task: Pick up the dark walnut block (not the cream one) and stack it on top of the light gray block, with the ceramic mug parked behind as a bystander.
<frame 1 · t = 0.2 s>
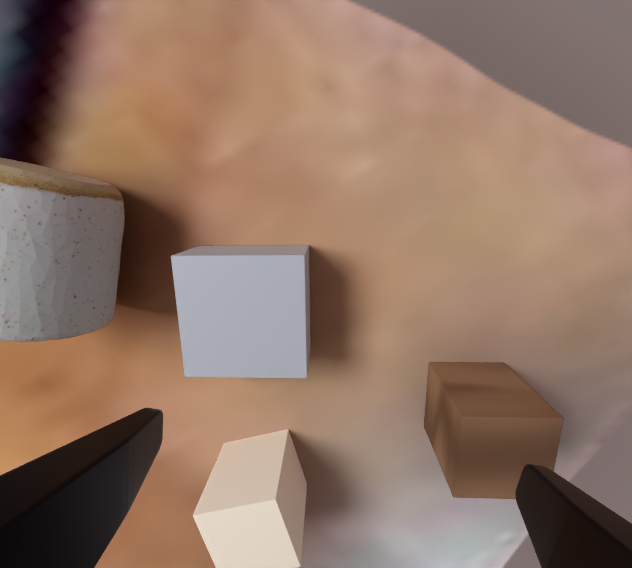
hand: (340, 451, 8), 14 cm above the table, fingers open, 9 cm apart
ceramic mug: (71, 237, 22), on the table
walnut block: (462, 394, 23), on the table
light gray block: (256, 298, 22), on the table
cream block: (266, 463, 25), on the table
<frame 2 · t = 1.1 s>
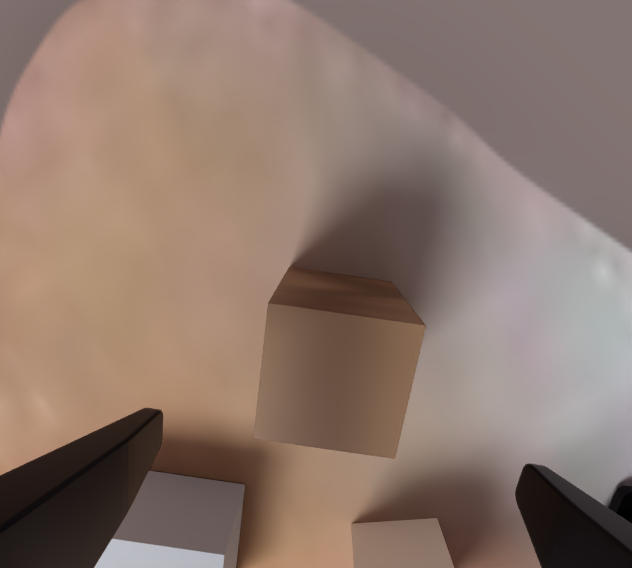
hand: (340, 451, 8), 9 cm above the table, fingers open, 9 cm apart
walnut block: (332, 322, 17), on the table
light gray block: (182, 523, 20), on the table
cream block: (396, 553, 20), on the table
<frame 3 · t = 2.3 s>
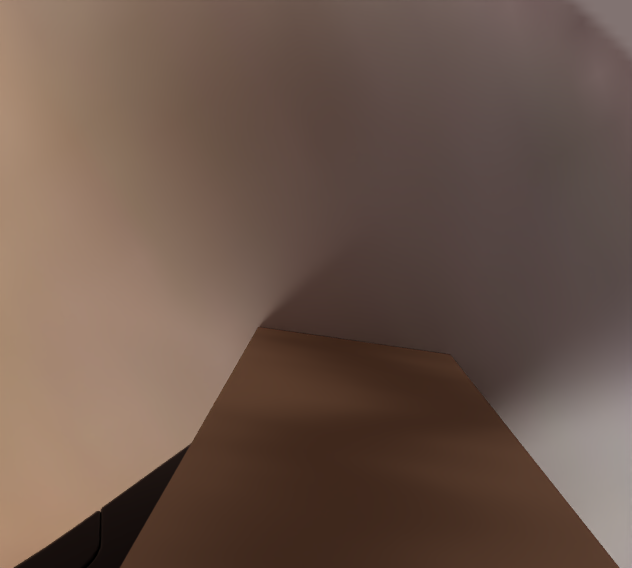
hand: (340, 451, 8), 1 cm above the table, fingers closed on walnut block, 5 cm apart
walnut block: (339, 424, 9), on the table, touching gripper
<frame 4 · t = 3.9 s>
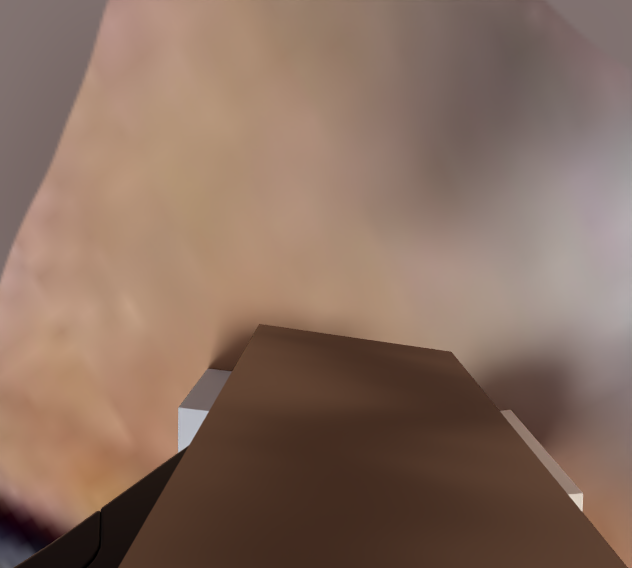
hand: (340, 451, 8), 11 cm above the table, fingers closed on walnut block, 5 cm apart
walnut block: (340, 421, 9), point 10 cm above the table, touching gripper
light gray block: (261, 425, 21), on the table
cream block: (469, 449, 21), on the table
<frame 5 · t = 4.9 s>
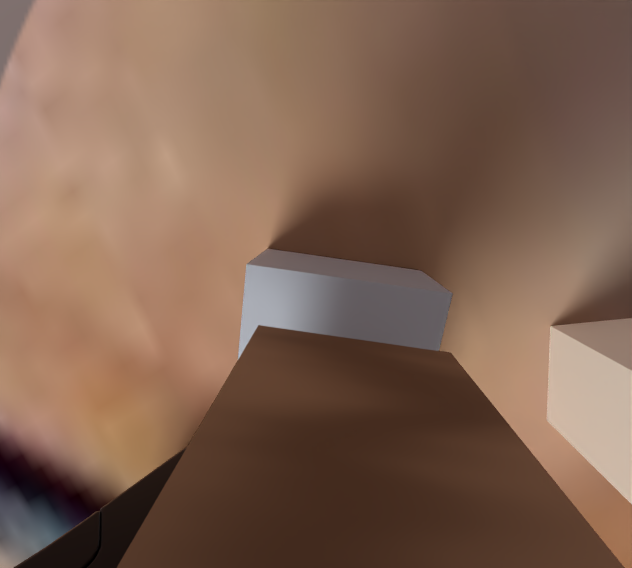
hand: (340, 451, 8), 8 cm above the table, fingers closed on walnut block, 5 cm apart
walnut block: (339, 422, 9), point 7 cm above the table, touching gripper
light gray block: (332, 331, 16), on the table
cream block: (602, 369, 16), on the table
when the fingers open (6 cm above the table, at t = 5.6 s): walnut block drops 1 cm, resting on light gray block.
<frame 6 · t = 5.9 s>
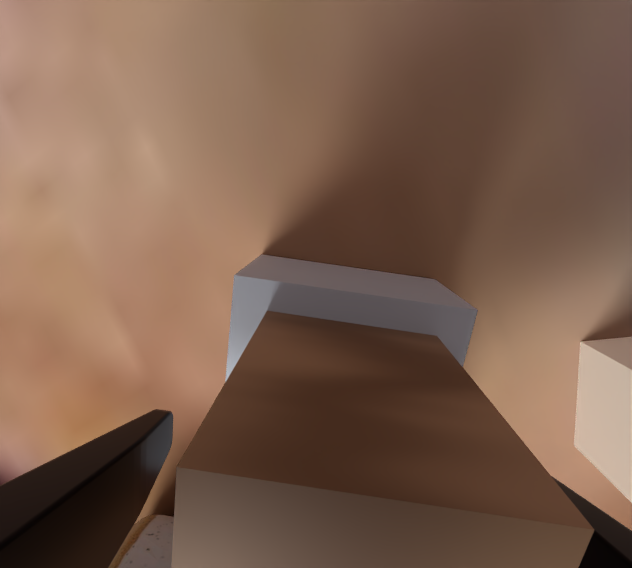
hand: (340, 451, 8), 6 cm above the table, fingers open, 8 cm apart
ceramic mug: (213, 567, 18), on the table
walnut block: (338, 398, 10), point 4 cm above the table, touching light gray block
light gray block: (334, 347, 14), on the table
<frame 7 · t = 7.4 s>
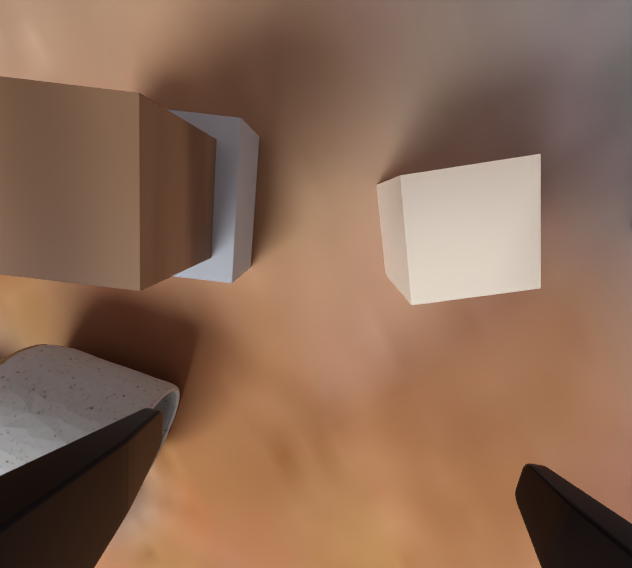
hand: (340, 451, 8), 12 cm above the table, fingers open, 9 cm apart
ceramic mug: (118, 408, 22), on the table
walnut block: (156, 194, 15), point 4 cm above the table, touching light gray block
light gray block: (191, 197, 19), on the table
cream block: (426, 224, 19), on the table
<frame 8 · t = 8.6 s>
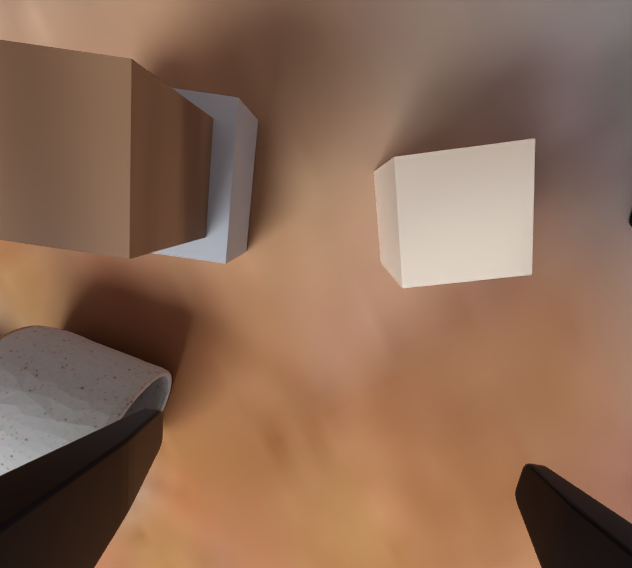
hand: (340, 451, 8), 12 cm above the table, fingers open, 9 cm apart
ceramic mug: (111, 392, 22), on the table
walnut block: (152, 172, 15), point 4 cm above the table, touching light gray block
light gray block: (189, 179, 19), on the table
cream block: (422, 213, 19), on the table
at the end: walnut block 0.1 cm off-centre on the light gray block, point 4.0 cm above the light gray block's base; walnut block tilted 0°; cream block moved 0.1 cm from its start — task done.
